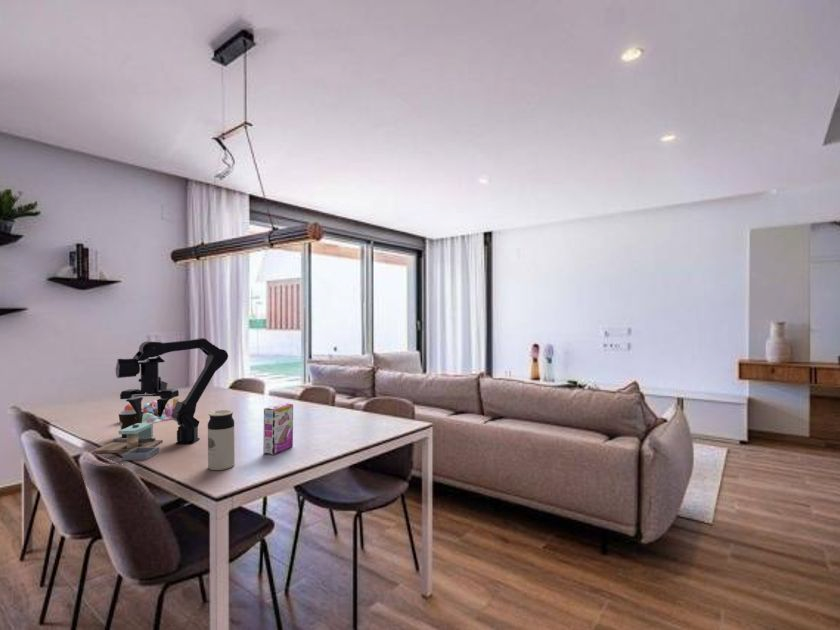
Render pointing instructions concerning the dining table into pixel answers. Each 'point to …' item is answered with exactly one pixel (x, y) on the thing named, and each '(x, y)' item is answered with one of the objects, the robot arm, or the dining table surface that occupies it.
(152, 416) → the pastel sphere sculpture
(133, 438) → the maple peg
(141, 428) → the teal lid
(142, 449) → the slate tray
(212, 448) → the travel mug
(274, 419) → the candy bar box
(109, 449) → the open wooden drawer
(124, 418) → the coffee mug
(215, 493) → the dining table surface
